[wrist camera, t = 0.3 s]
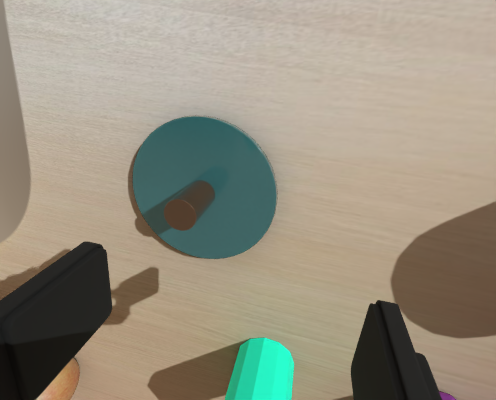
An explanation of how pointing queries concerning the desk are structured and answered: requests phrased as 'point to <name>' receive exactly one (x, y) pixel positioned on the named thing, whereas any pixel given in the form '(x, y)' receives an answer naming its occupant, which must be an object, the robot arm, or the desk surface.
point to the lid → (205, 187)
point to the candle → (261, 372)
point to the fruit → (63, 383)
